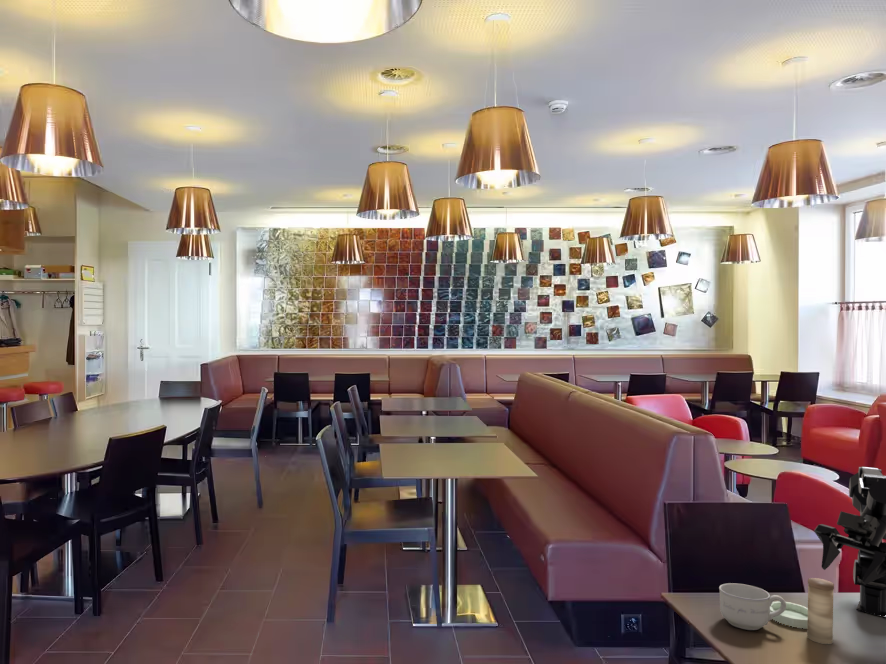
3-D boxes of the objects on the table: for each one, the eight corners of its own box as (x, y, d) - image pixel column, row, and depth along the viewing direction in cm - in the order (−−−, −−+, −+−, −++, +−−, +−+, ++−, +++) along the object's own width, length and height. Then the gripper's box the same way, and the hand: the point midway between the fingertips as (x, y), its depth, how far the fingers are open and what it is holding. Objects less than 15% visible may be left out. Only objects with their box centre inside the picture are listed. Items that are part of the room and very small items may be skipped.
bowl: (773, 605, 154) (773, 597, 154) (820, 618, 147) (820, 610, 147) (762, 618, 146) (762, 610, 146) (811, 632, 140) (811, 623, 140)
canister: (809, 631, 140) (810, 576, 141) (834, 638, 137) (835, 582, 137) (804, 638, 137) (805, 582, 137) (830, 646, 133) (831, 588, 134)
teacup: (716, 628, 141) (717, 592, 141) (719, 610, 150) (720, 577, 151) (786, 643, 134) (787, 606, 134) (785, 624, 144) (785, 589, 144)
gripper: (819, 490, 151) (788, 540, 146) (903, 510, 134) (870, 567, 129) (840, 519, 154) (809, 569, 149) (923, 542, 137) (892, 600, 132)
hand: (842, 575), depth 140 cm, fingers open, 9 cm apart
